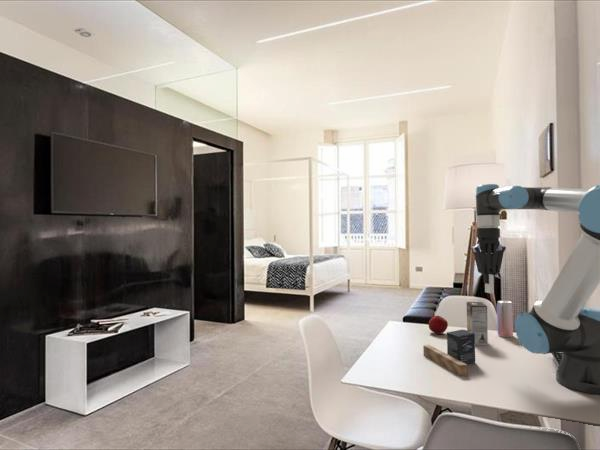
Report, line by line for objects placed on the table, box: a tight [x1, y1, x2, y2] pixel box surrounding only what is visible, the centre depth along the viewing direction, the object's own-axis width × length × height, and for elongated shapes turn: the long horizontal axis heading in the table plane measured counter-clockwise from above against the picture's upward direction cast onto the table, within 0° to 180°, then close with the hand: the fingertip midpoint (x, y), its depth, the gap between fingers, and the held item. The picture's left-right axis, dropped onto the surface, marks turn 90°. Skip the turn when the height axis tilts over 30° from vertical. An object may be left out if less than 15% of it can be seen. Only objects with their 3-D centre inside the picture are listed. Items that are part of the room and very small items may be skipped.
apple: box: [428, 315, 449, 335], centre depth 173 cm, size 8×8×8 cm
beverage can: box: [496, 300, 514, 338], centre depth 168 cm, size 6×6×15 cm
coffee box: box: [466, 301, 489, 346], centre depth 159 cm, size 9×6×16 cm
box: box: [446, 329, 476, 365], centre depth 135 cm, size 8×6×11 cm
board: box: [422, 344, 468, 377], centre depth 133 cm, size 22×2×4 cm, turn 13°
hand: (489, 292), depth 137 cm, fingers closed
